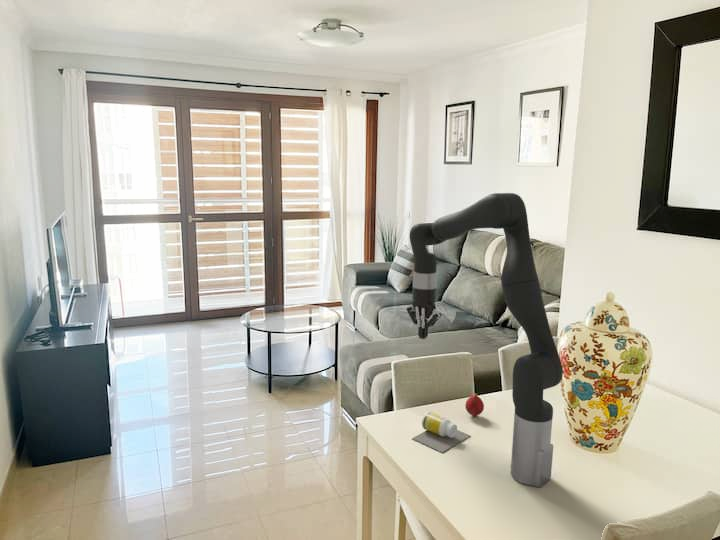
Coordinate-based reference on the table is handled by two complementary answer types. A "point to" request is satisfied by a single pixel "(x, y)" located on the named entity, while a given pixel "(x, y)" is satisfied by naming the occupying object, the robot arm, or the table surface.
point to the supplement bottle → (439, 425)
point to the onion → (474, 405)
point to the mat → (440, 440)
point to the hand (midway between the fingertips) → (422, 338)
